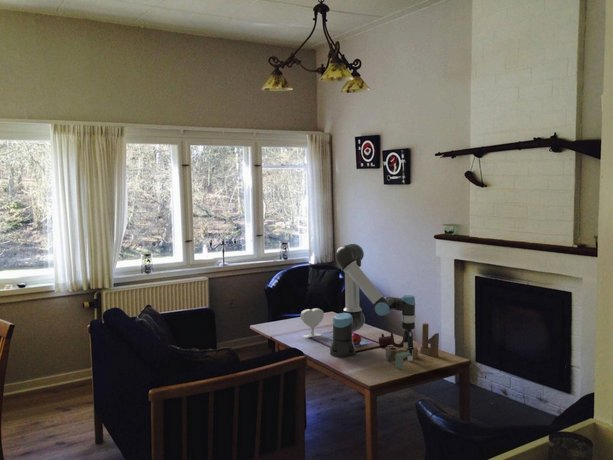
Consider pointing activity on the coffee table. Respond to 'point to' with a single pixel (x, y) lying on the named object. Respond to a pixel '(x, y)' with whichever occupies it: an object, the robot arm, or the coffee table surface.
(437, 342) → the wooden block
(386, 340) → the brown toy figure
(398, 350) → the link
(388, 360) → the pintle
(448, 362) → the coffee table surface
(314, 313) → the heart sculpture
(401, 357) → the keeper
